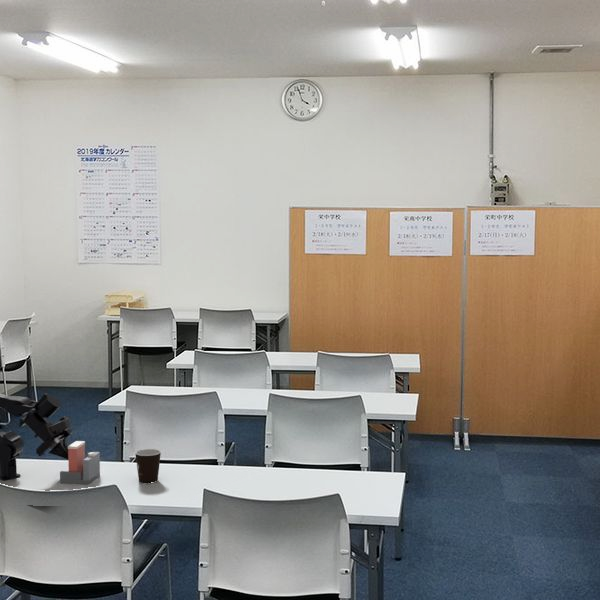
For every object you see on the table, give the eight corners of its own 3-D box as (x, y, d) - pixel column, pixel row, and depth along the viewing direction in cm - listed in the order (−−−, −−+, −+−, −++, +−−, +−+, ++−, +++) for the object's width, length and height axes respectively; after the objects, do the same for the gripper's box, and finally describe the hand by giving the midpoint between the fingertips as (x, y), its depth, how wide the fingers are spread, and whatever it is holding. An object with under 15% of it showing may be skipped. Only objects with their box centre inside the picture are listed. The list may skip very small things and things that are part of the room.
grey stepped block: (59, 483, 261) (59, 456, 260) (71, 474, 270) (71, 448, 270) (89, 484, 259) (89, 457, 259) (100, 475, 269) (100, 449, 269)
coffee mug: (158, 484, 260) (157, 455, 259) (132, 484, 260) (132, 455, 259) (164, 474, 271) (164, 446, 271) (140, 474, 272) (140, 446, 271)
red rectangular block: (68, 477, 262) (67, 446, 261) (76, 471, 269) (76, 440, 268) (77, 477, 261) (76, 446, 260) (85, 471, 268) (85, 441, 267)
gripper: (44, 417, 255) (76, 450, 254) (67, 405, 273) (97, 436, 273) (22, 439, 256) (54, 473, 256) (46, 426, 275) (76, 457, 274)
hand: (71, 459), depth 265 cm, fingers closed, pressing on red rectangular block
